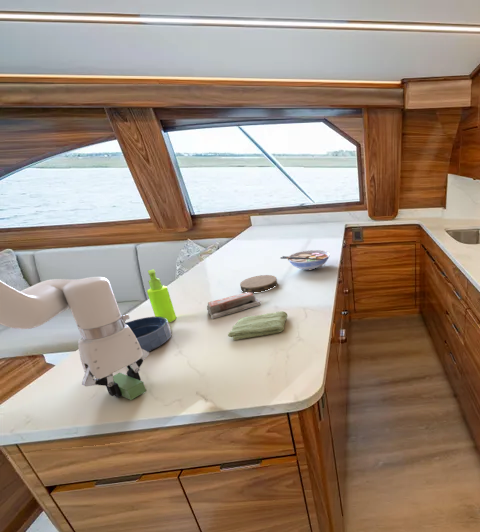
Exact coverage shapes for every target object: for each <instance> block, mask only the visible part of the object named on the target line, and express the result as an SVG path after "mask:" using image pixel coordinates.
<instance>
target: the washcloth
mask: <svg viewBox="0 0 480 532" xmlns="http://www.w3.org/2000/svg"><path fill="white" fill-rule="evenodd" d="M287 318H288V313H287V312H286V311H284V310H281V311H280V310H279V311H276V312H269V313H263V314H258V315H250V316H249V315H248V316H244V317H241V318H240V319H238V320H237V322H236V323H234V325H233V326H232V329H231V330H230V331H229V332H228V333H227V337H229V338H232V340H233V341H238V340H242V339H249V338H256V337H261V336H267V335H268V336H269V335H273V334H279V333H281V332H282V331H284V329H285V325H286V323H285V322H286V321H287Z"/></svg>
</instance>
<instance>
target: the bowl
mask: <svg viewBox="0 0 480 532" xmlns="http://www.w3.org/2000/svg"><path fill="white" fill-rule="evenodd" d="M169 323H170V322H169ZM169 323H168V320H167V319H166V318H164V317H155V316H147V317H142V318H137V319H133V320H130V321H127V322H125V324H126V325H128V326H129V327H130V329H131V330H132V332H133V333H134V335H135V336H136V338H137V340H138V342H139V344H140V347H141V348H142V349H144V350H146V351H147V352H149V353H150V352H151V351H153V350H155V349H157V348H159V347H161V346H162V345H164V344H165V343H166V342H168V341H169V340H170V338H171V337H172V333H173V332H172V330H171V327H170V324H169Z"/></svg>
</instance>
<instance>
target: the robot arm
mask: <svg viewBox="0 0 480 532" xmlns="http://www.w3.org/2000/svg"><path fill="white" fill-rule="evenodd" d="M68 310H70V312H71V314H72V317H73V320H74V321H75V324H76V326H77V329H78V331H79V334H80V336H81V338H79V339H78V341H77V347H78V354H79V358H80V361H81V365H82V368H83V371H84V376H83V379H82V382H81V385H83V386H84V387H93V386H104V387H106V390H107V393H108V394H109V396H111V397H115V398H118V399H120V398H122V397H123V396H122V394H121V391H120V389H119V385H118V384H117V383H115V382H114V379H113V376H114V373H117V372H118V371H120V370H122V369H124V368H126V369H127V371H126V375H127V376H130V377H132V378H135V379H138V380H140V381H142V379H141V376H140V373H139V372H140V370H141V369H140V368H141V366H142V365H143V363H144V360H145V359H147V358H148V356H149V355H150V351H149V352H147V351H146V350H144V349H142V348H141V347H140V344H139V342H138V340H137V338H136V336H135V335H134V333H133V332H132V330H131V329H130V327H129V326H128V325H126V324H125V323H126V321H127V320H129V319H130V315H129V314H127V313H125V314H122V313H121V310H120V307H119V305H118V302H117V299H116V296H115V294H114V291H113V288H112V285H111V283H110V280H109V279H108V278H106V277H104V276H89V277H84V278H79V279H77V278H76V279H75V278H74V279H73V278H72V279H71V278H69V279H68V278H53V279H52V278H51V279H46V280H42V281H40V282H37V283H35V284H33V285H31V286H28V287H26V288H24V289H22V290H20V291H19V290H17V289H16V288H14V287H12V286H10V285H8V284H6V282H3V281H2V280H0V325H1V326H4V327H7V328H9V329H10V328H11V329H16V330H29V329H30V330H31V329H34V328H37V327H41V326H42V325H44V324H46V323H47V322H50V320H52V319H54V318H56V317H57V316H58V315H60V314H62V313H64V312H66V311H68Z"/></svg>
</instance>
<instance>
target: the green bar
mask: <svg viewBox="0 0 480 532" xmlns="http://www.w3.org/2000/svg"><path fill="white" fill-rule="evenodd" d="M113 379H114V382H115V383H117V384H118V385H119V389H120V391H121V394H122V397H123V398H126V399H128V400H130V401H133V400H134V399H135V398H137V397H139V396H140V395H143V393H146V392H147V389H146V386H145V384H144V381H143V380H138V379H135V378H132V377H130V376H127V374H124V373H122V372H118V373H116V374H113Z"/></svg>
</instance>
